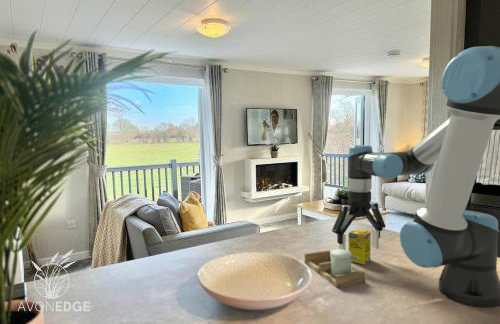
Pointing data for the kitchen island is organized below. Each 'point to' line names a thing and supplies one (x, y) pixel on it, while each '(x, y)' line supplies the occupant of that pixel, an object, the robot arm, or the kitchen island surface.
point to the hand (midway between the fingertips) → (358, 250)
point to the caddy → (323, 267)
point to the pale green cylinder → (340, 262)
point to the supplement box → (360, 246)
